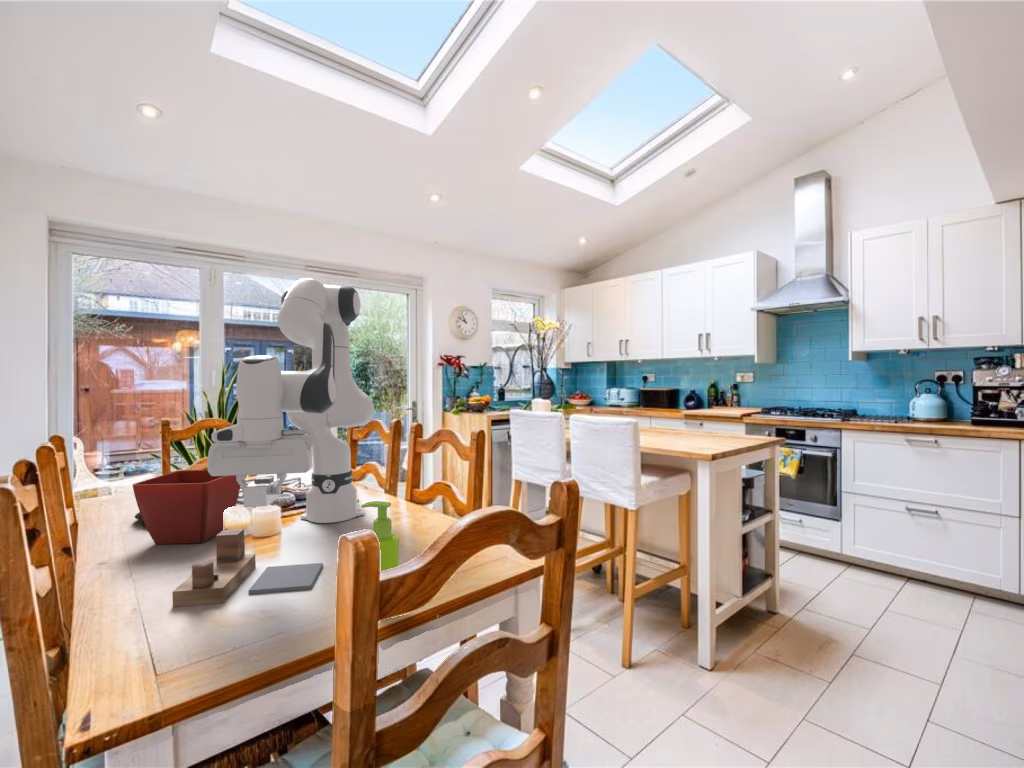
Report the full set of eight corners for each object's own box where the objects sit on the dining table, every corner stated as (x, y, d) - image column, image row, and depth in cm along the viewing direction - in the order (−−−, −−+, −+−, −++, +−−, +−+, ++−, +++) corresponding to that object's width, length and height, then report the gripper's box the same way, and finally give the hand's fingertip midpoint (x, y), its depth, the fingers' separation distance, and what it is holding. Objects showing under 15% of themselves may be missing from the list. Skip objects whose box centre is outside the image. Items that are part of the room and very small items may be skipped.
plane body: (213, 569, 110) (212, 530, 110) (255, 566, 112) (254, 528, 111) (172, 607, 92) (171, 560, 92) (223, 602, 94) (222, 557, 94)
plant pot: (180, 525, 142) (178, 469, 142) (245, 524, 143) (244, 468, 142) (131, 549, 123) (129, 484, 122) (207, 548, 124) (206, 483, 123)
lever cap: (257, 497, 107) (257, 475, 107) (278, 496, 108) (278, 475, 107) (243, 507, 99) (243, 484, 99) (266, 506, 100) (266, 483, 100)
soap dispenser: (370, 597, 96) (369, 497, 95) (403, 599, 95) (402, 499, 94) (356, 611, 90) (355, 506, 90) (391, 614, 89) (390, 507, 89)
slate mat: (267, 570, 109) (267, 566, 109) (322, 566, 111) (322, 562, 111) (248, 594, 97) (248, 590, 97) (310, 589, 100) (310, 585, 100)
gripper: (315, 427, 108) (316, 488, 108) (216, 430, 104) (218, 492, 105) (308, 431, 101) (309, 495, 102) (202, 433, 98) (204, 500, 99)
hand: (262, 494), depth 103 cm, fingers closed on lever cap, 4 cm apart
